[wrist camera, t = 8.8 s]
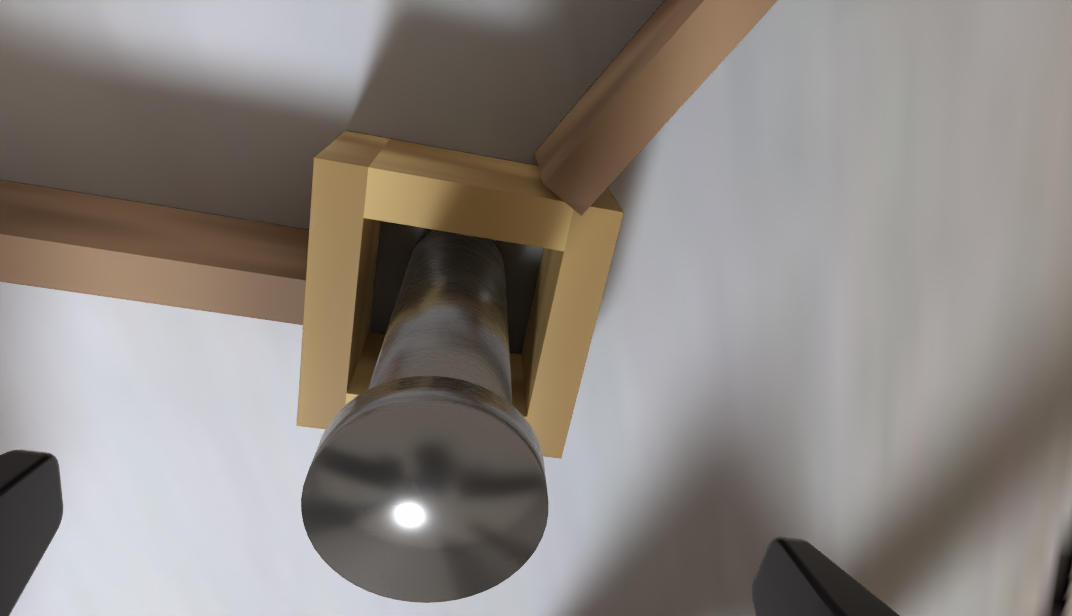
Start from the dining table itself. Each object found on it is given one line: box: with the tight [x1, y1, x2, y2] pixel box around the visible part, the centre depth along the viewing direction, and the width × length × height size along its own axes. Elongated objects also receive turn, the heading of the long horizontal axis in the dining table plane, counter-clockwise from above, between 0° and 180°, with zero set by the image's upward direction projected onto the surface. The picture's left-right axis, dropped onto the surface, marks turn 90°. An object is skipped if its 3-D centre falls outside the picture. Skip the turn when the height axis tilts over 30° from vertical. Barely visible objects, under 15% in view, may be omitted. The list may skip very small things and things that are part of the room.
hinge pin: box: [301, 230, 548, 603], centre depth 13 cm, size 3×3×9 cm
